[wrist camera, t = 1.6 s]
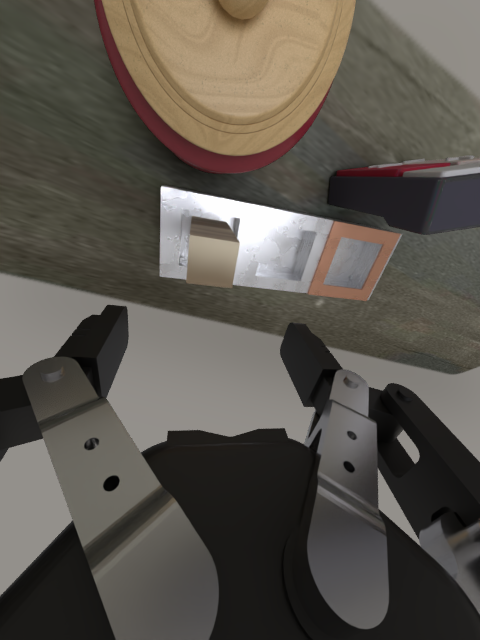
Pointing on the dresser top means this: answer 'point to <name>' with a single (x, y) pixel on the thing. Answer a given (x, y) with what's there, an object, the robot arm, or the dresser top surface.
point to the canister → (226, 72)
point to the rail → (279, 245)
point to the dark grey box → (414, 193)
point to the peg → (211, 253)
